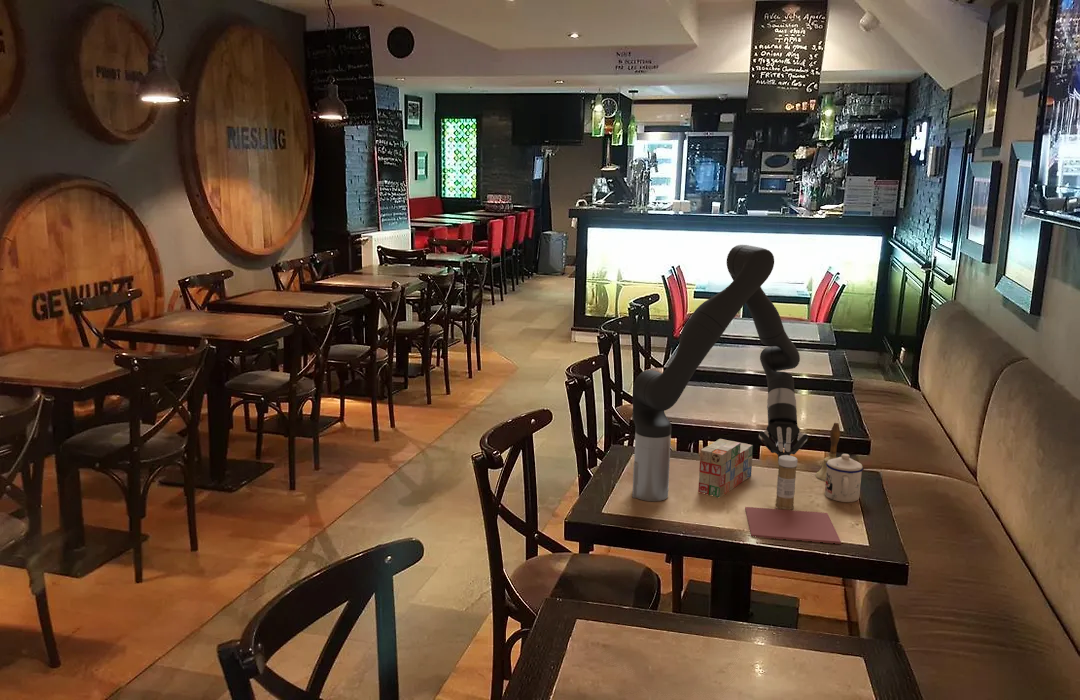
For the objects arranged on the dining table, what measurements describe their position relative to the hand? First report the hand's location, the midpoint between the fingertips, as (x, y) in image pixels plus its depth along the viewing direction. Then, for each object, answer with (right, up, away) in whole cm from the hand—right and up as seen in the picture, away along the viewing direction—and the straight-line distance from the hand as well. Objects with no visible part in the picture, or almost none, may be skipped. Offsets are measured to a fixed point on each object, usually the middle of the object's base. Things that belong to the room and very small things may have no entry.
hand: (784, 466), depth 208 cm
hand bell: (+19, -6, +20) cm, 28 cm away
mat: (-3, -12, -13) cm, 18 cm away
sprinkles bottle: (-1, -10, -2) cm, 10 cm away
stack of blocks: (-12, -7, +14) cm, 20 cm away
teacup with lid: (+17, -9, +5) cm, 19 cm away
